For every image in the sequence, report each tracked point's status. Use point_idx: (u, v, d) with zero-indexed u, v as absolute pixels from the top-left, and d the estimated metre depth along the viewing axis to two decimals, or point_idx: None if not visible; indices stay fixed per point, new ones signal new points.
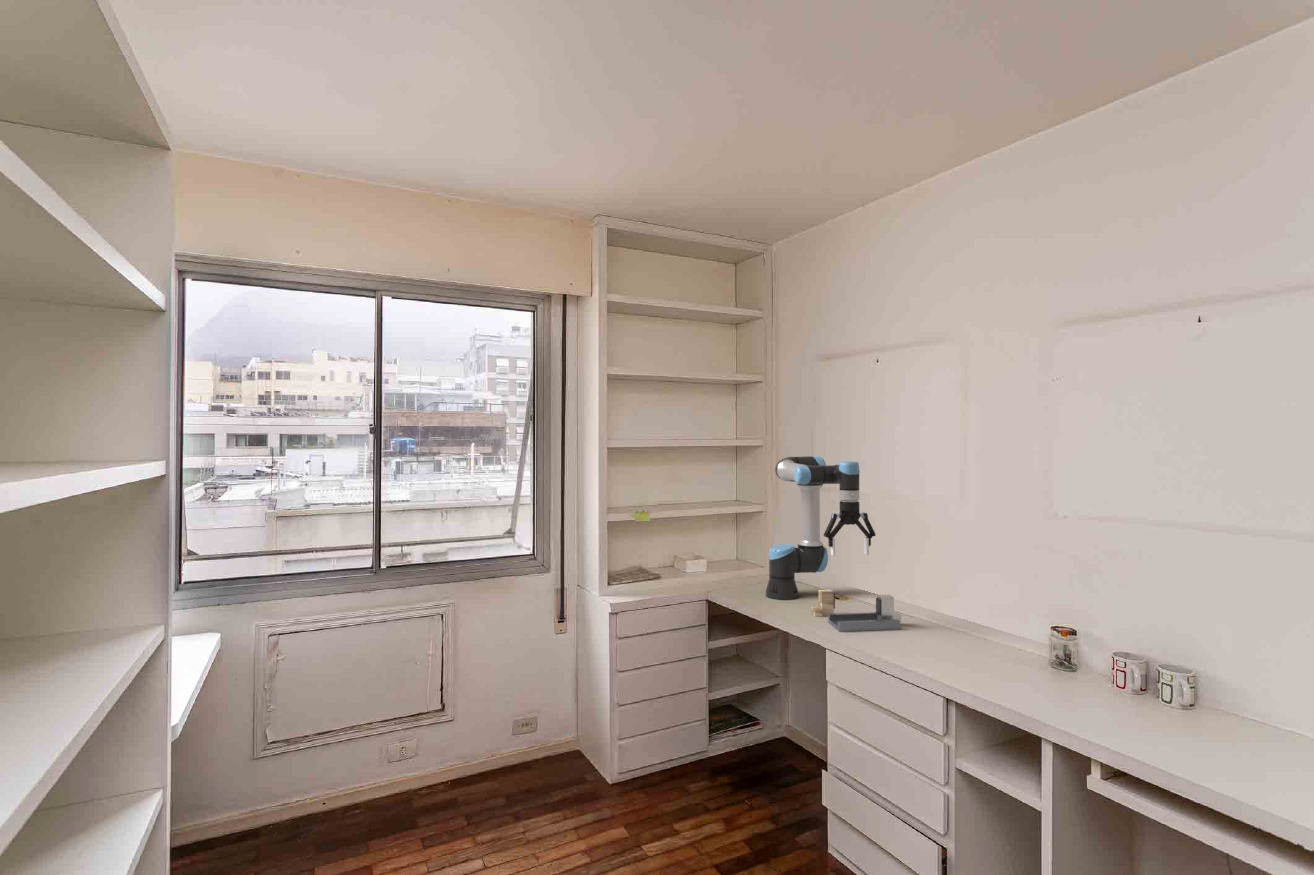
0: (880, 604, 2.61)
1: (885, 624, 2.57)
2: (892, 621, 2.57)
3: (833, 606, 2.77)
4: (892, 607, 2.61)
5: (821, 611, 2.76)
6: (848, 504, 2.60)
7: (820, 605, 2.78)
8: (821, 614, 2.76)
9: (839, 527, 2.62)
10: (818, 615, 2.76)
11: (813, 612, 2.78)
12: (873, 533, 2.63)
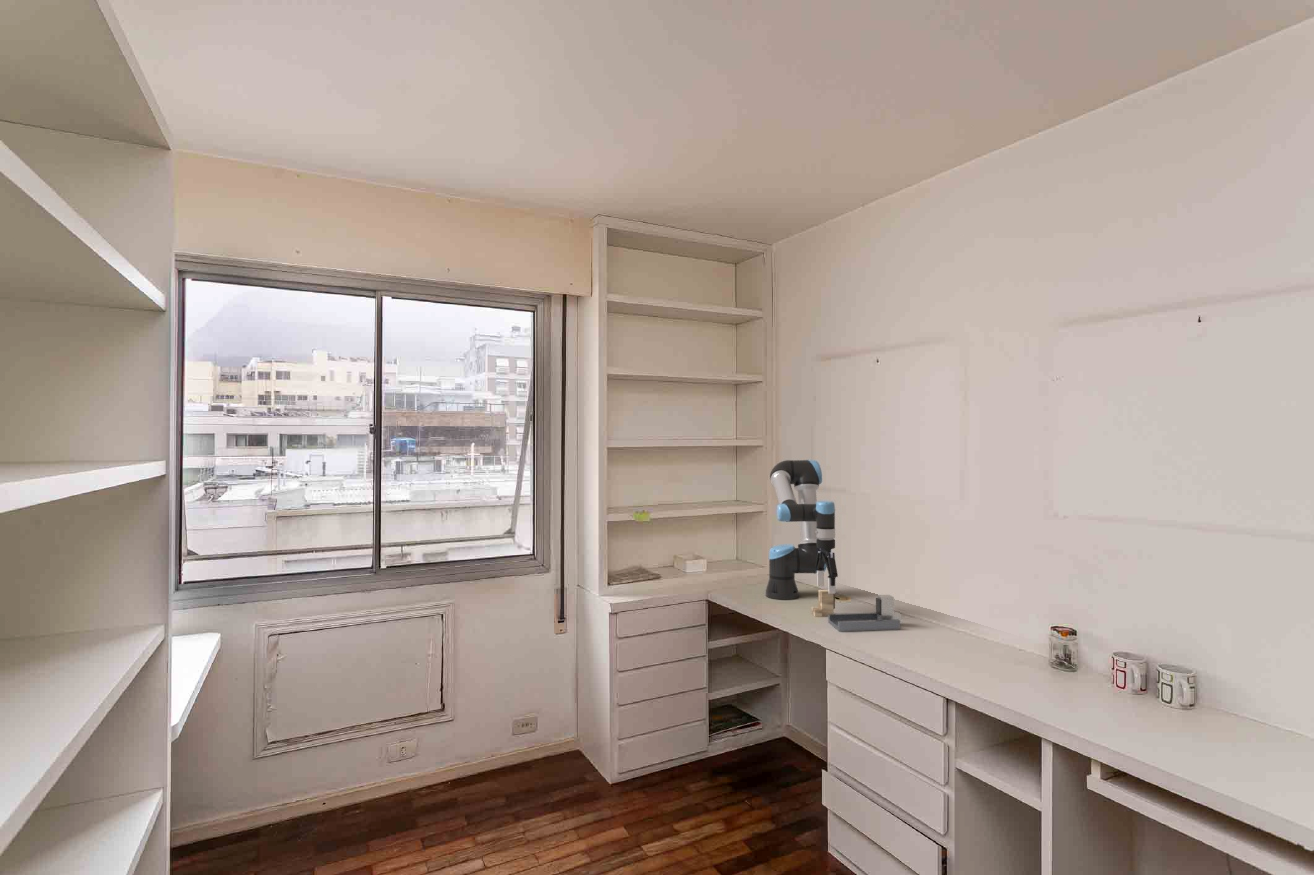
0: (880, 604, 2.61)
1: (885, 624, 2.57)
2: (892, 621, 2.57)
3: (833, 606, 2.77)
4: (892, 607, 2.61)
5: (821, 611, 2.76)
6: None
7: (820, 605, 2.78)
8: (821, 614, 2.76)
9: (819, 561, 2.82)
10: (818, 615, 2.76)
11: (813, 612, 2.78)
12: (831, 574, 2.69)
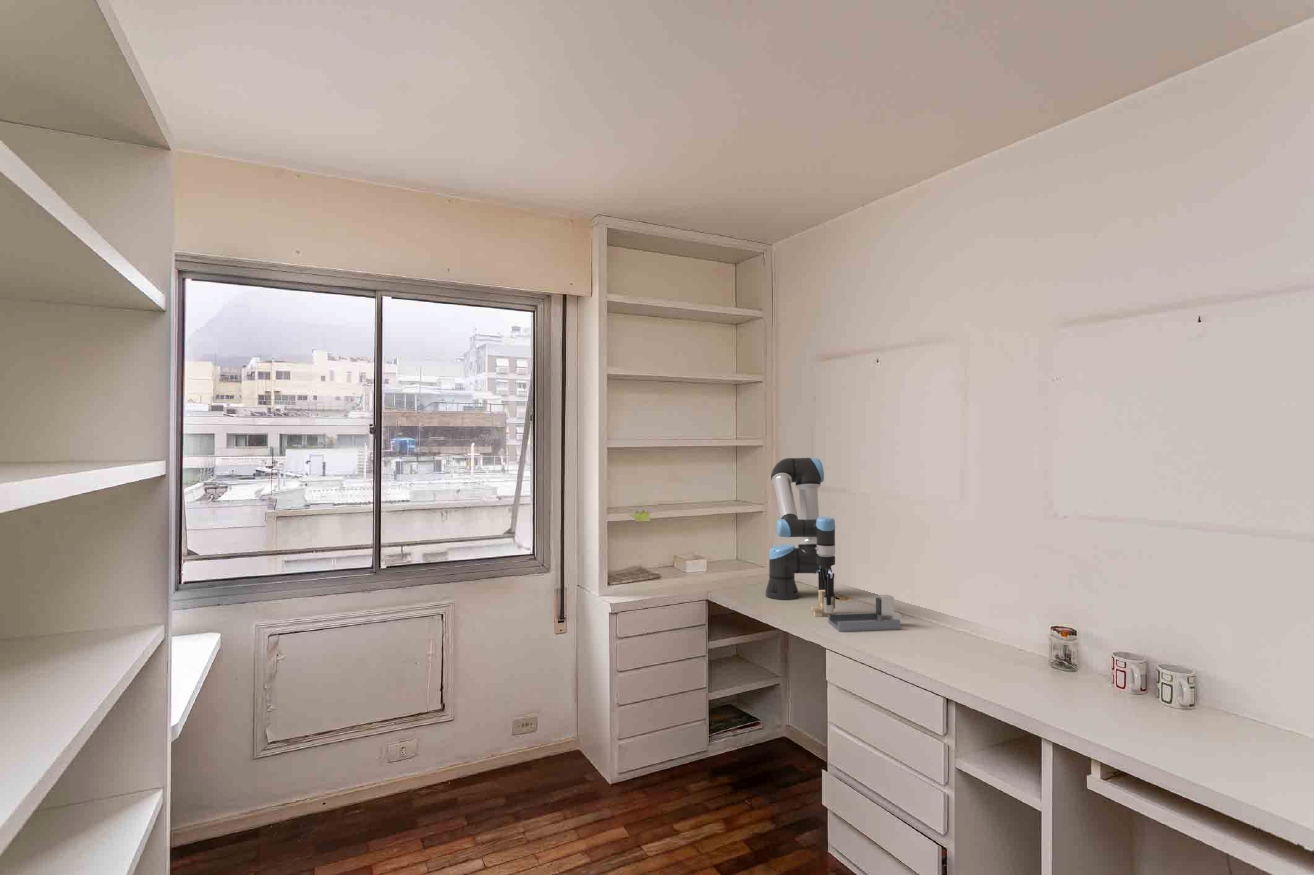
0: (880, 604, 2.61)
1: (885, 624, 2.57)
2: (892, 621, 2.57)
3: (833, 606, 2.77)
4: (892, 607, 2.61)
5: (821, 611, 2.76)
6: (816, 556, 2.79)
7: (820, 605, 2.78)
8: (821, 614, 2.76)
9: (821, 581, 2.80)
10: (818, 615, 2.76)
11: (813, 612, 2.78)
12: (827, 593, 2.73)
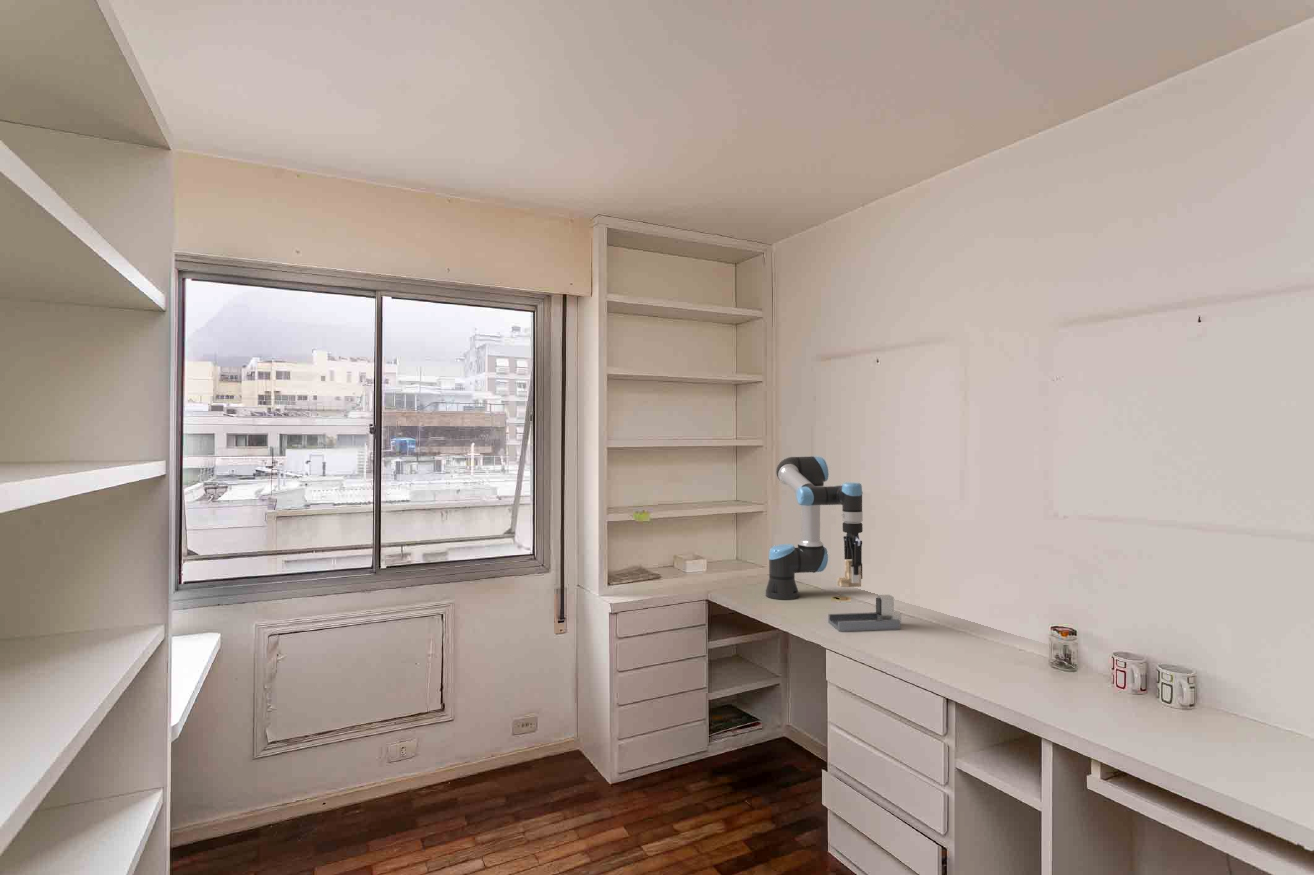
0: (880, 604, 2.61)
1: (885, 624, 2.57)
2: (892, 621, 2.57)
3: (860, 576, 2.61)
4: (892, 607, 2.61)
5: (848, 581, 2.61)
6: None
7: (847, 575, 2.62)
8: (848, 584, 2.61)
9: (847, 550, 2.65)
10: (845, 585, 2.61)
11: (839, 582, 2.62)
12: (854, 562, 2.58)
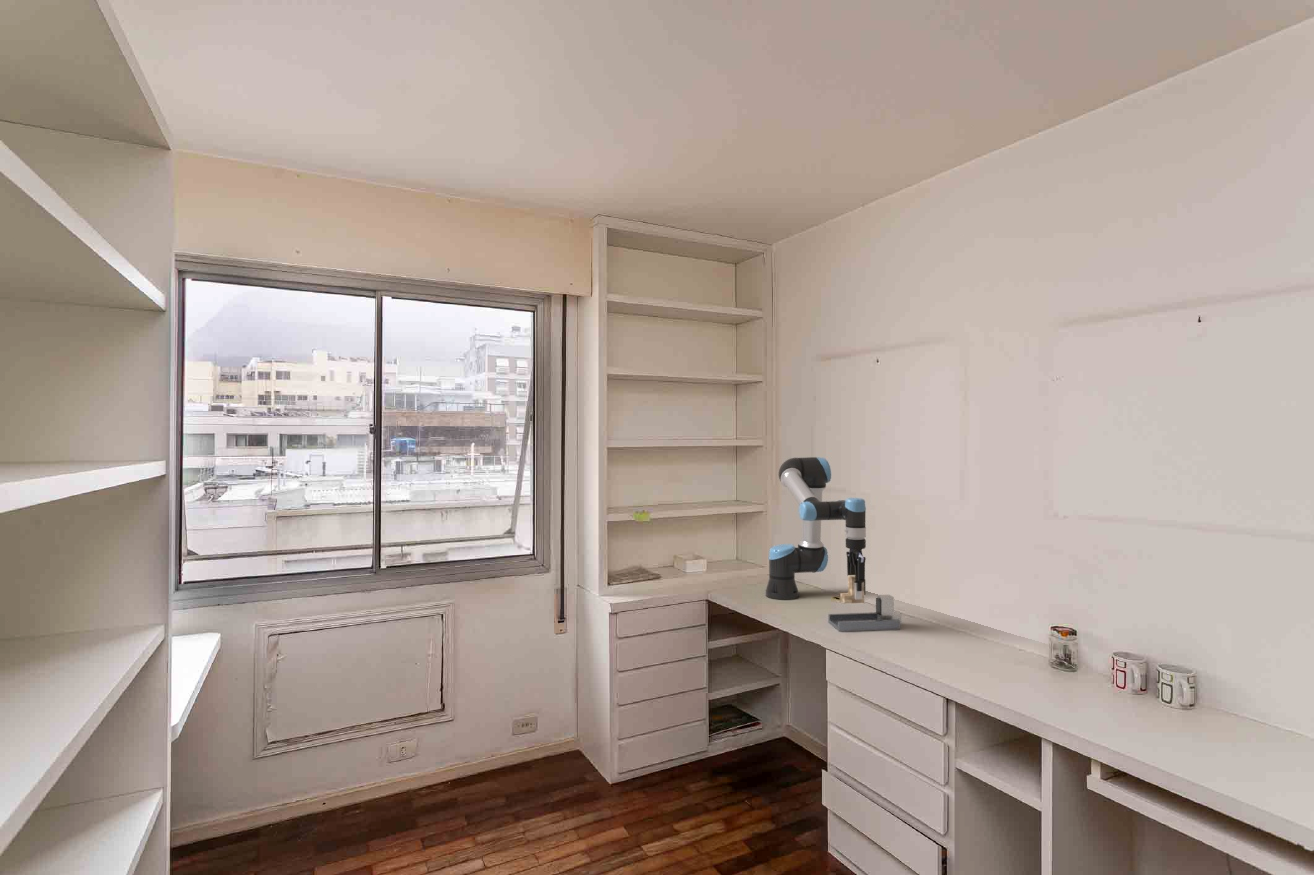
0: (880, 604, 2.61)
1: (885, 624, 2.57)
2: (892, 621, 2.57)
3: (864, 592, 2.60)
4: (892, 607, 2.61)
5: (851, 597, 2.59)
6: None
7: (850, 591, 2.61)
8: (851, 601, 2.59)
9: (850, 565, 2.64)
10: (848, 602, 2.59)
11: (842, 598, 2.61)
12: (858, 579, 2.57)
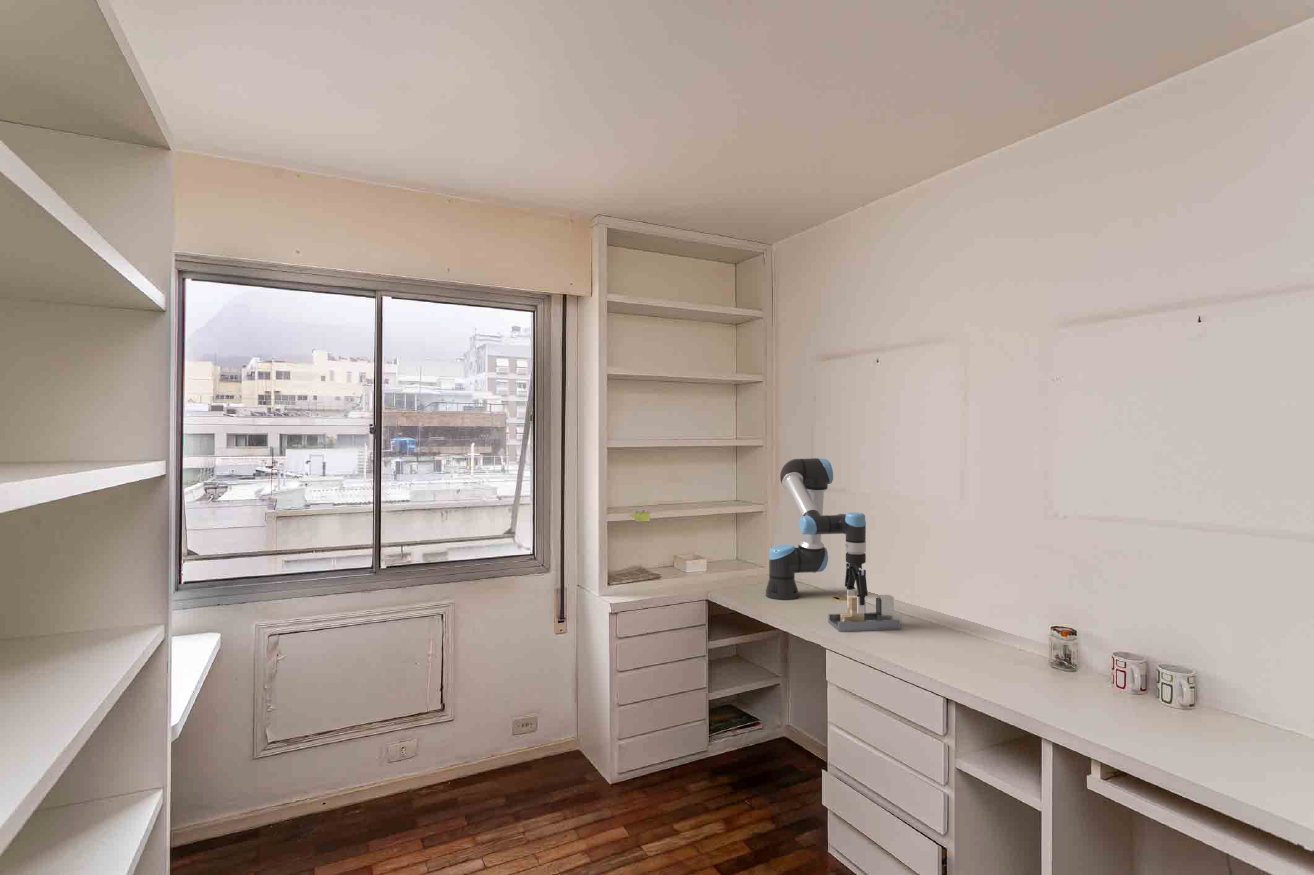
0: (880, 604, 2.61)
1: (885, 624, 2.57)
2: (892, 621, 2.57)
3: (864, 613, 2.60)
4: (892, 607, 2.61)
5: (851, 618, 2.60)
6: None
7: (850, 612, 2.61)
8: None
9: (849, 578, 2.65)
10: None
11: (842, 619, 2.62)
12: (860, 593, 2.54)
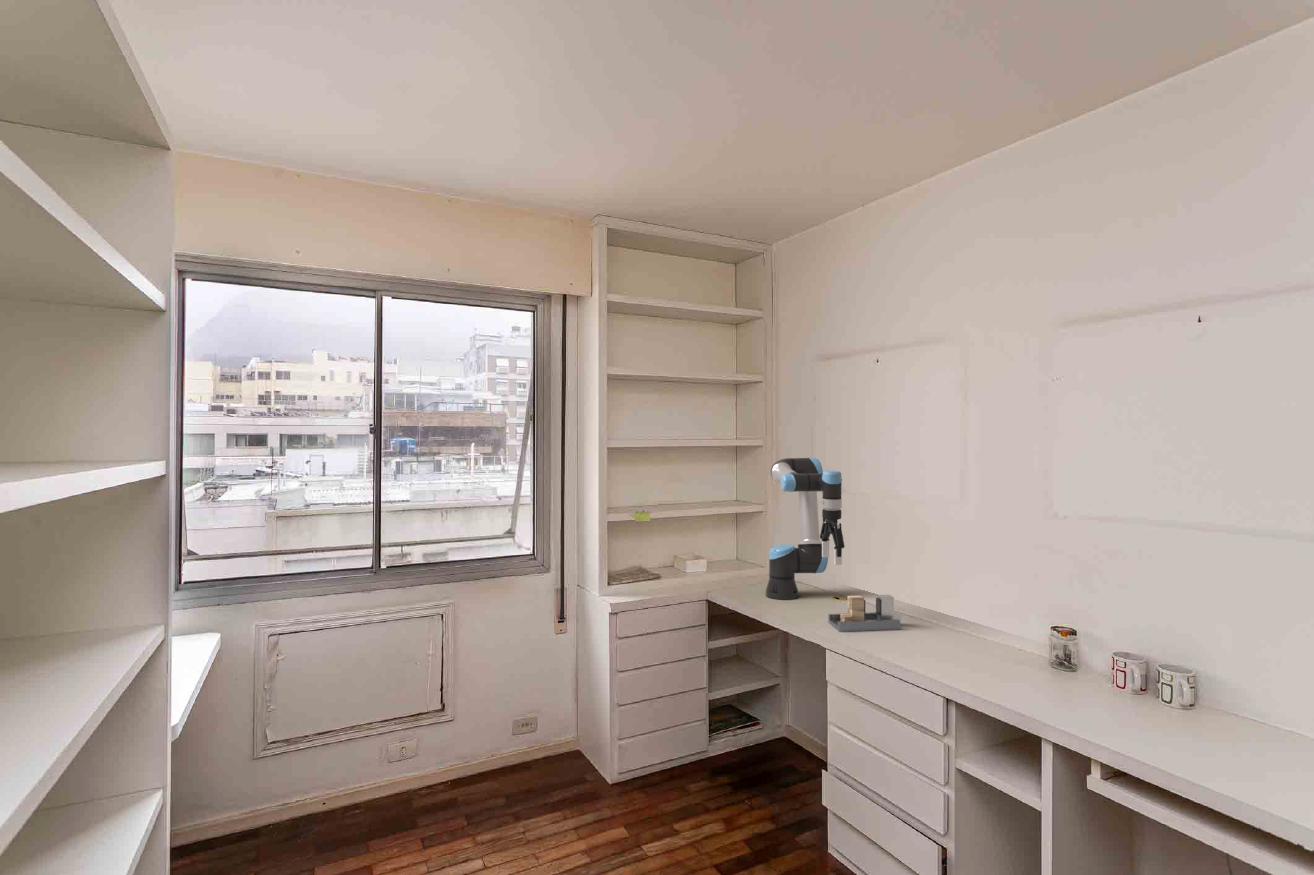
0: (880, 604, 2.61)
1: (885, 624, 2.57)
2: (892, 621, 2.57)
3: (864, 613, 2.60)
4: (892, 607, 2.61)
5: (851, 618, 2.60)
6: (822, 511, 2.73)
7: (850, 612, 2.61)
8: None
9: (824, 531, 2.77)
10: None
11: (842, 619, 2.62)
12: (837, 545, 2.63)
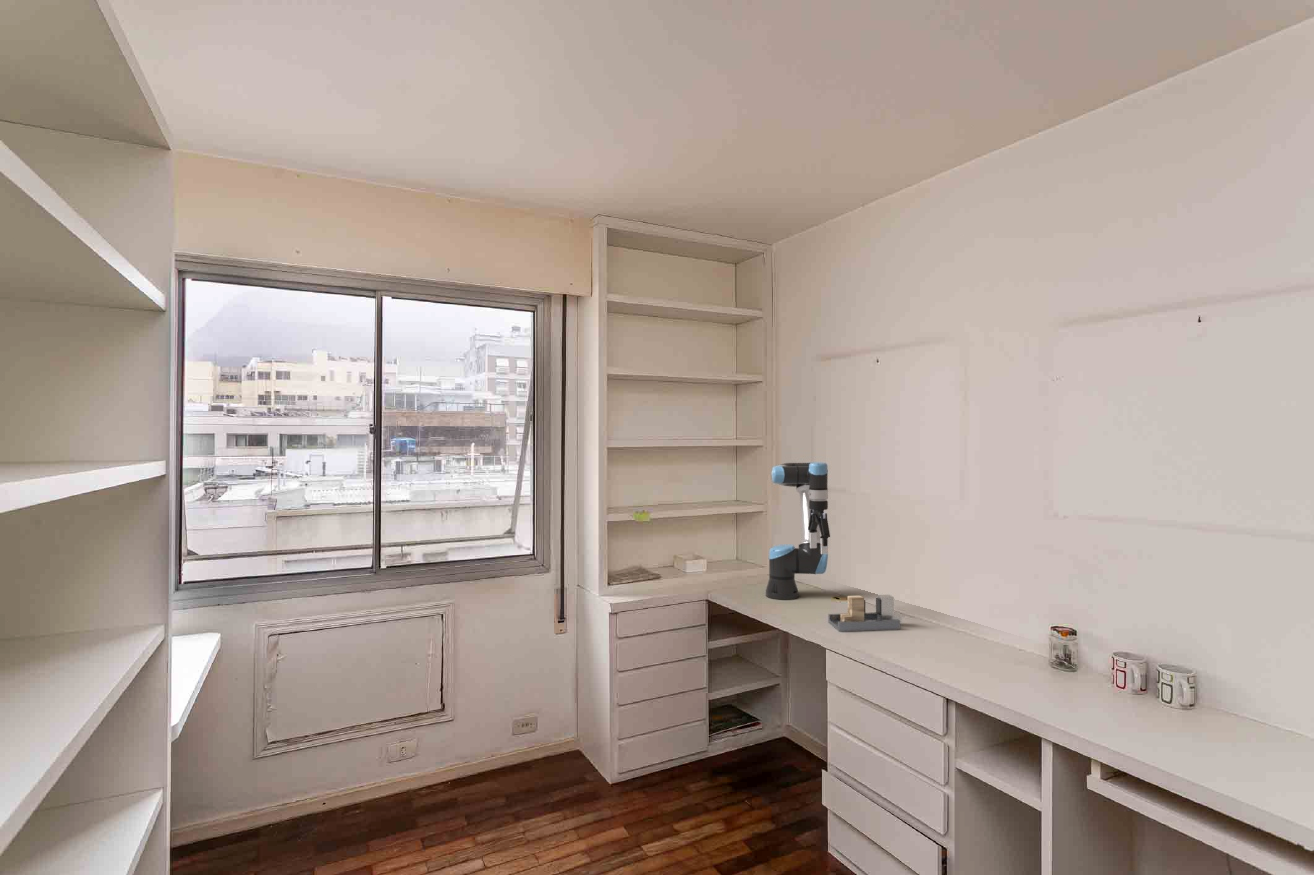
0: (880, 604, 2.61)
1: (885, 624, 2.57)
2: (892, 621, 2.57)
3: (864, 613, 2.60)
4: (892, 607, 2.61)
5: (851, 618, 2.60)
6: None
7: (850, 612, 2.61)
8: None
9: (812, 523, 2.82)
10: None
11: (842, 619, 2.62)
12: (823, 534, 2.68)
